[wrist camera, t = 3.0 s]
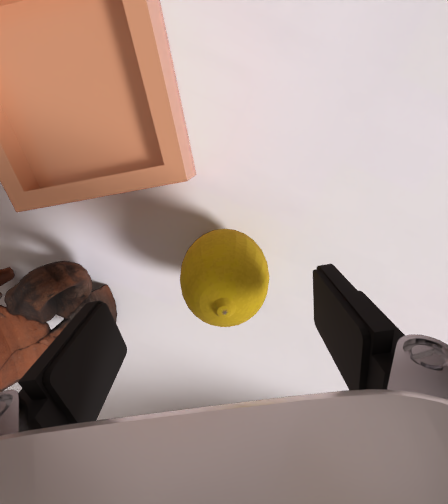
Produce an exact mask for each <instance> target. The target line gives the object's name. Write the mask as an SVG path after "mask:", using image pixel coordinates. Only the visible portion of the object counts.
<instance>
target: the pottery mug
mask: <svg viewBox="0 0 448 504" xmlns="http://www.w3.org/2000/svg"><path fill="white" fill-rule="evenodd" d="M13 277H14V273H13V270H12V269H11V268H10V267H9V268H6V269H0V286H1V285H3V284H5V283H6V282H8V281H10V280H12V279H13ZM91 290H92V280H91V277H90V276H89V274H88V272H87V270H86V269H84V268H83V267H82V266H81V265H80V264H77V263H72V262H67V261H61V262H54V263H50V264H47V265H44V266H41V267H39V268H37V269H35V270H33V271H31V272H29V273H28V274H27V275H25V276H24V277H23V278H22V279H21V280H20V281H19V283H18V284H16V285H15V286H14V287H13V288H11V289H10V290H8V291H7V293H6V295H5V303H6V305H7V307H4V306H2V305H0V392H3V391H4V390H5V389H6V388H8V387H9V386H11V385H13V384H15V383H16V382H18V381H19V380H20V379H21V378H22V377H23V376H24V374H25V373H26V372H27V371H28V370H29V369H30V367H31V366H32V365H33V364H34V363H35V362H36V361H37V359H38V358H39V357H40V356H41V355H42V354H43V352H44V351H45V350H46V349H47V348H48V347H49V345H50V344H51V343H52V342H53V341H54V340H55V338H56V337H57V336H58V335H59V334H60V333H61V332H62V330H63V329H64V328H65V327H66V326H67V325H68V323H69V322H70V321H71V320H72V319H73V318H74V316H75V315H76V314H77V313H78V312H79V311H80V310H81V308H82V307H83V306H84V305H85V304H86V303H88V302H93V301H99V300H100V301H102V302H103V303H106V304H107V305H108V307H109V310H110V312H111V314H112V316H113V318H114V320H115V323H116V317H117V311H116V304H115V300H114V298H113V295H112V292H111V291H110V288H109V287H108V285H104V286H103V287H101V288H100V289H97V290H95V291H93V292H91ZM1 297H2V293H0V299H1ZM55 314H56V315H59V316H61V317H63V318H64V320H63V321H61V322H60V323H59V324H58V325H57V326H56V327H55V328H53V329H52V330H51V329H50V327H49V324H48V323H47V322H46V321H49V320H51V319H52V318H53V317H54V316H55Z"/></svg>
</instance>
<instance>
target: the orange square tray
mask: <svg viewBox="0 0 448 504" xmlns="http://www.w3.org/2000/svg"><path fill="white" fill-rule="evenodd" d="M195 175H196V171H195V166H194V161H193V156H192V152H191V147H190V142H189V137H188V133H187V128H186V123H185V118H184V114H183V109H182V104H181V99H180V95H179V90H178V85H177V80H176V76H175V71H174V66H173V61H172V57H171V52H170V47H169V42H168V37H167V33H166V28H165V23H164V18H163V14H162V9H161V4H160V0H0V182H1V183H2V185H3V187H4V189H5V191H6V193H7V195H8V197H9V199H10V201H11V203H12V205H13V207H14V208H15V210H16V212H22V211H27V210H32V209H38V208H43V207H49V206H54V205H60V204H65V203H70V202H76V201H81V200H87V199H92V198H98V197H103V196H109V195H114V194H119V193H125V192H130V191H136V190H141V189H147V188H152V187H158V186H163V185H168V184H174V183H179V182H185V181H188V180H189V179H191V178H192V177H194V176H195Z"/></svg>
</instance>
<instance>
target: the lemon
mask: <svg viewBox="0 0 448 504" xmlns="http://www.w3.org/2000/svg"><path fill="white" fill-rule="evenodd" d="M180 283H181V289H182V295H183V298H184V300H185V302H186V304H187V306H188V308H189V309H190V310H191V311H192V312H193V314H194V315H195V316H196V317H198V318H199V319H201V320H202V321H203V322H206V323H208V324H210V325H214V326H220V327H230V326H235V325H239V324H241V323H243V322H246V321H247V320H249V319H250V318H251V317H253V316H254V315H255V314H256V313H257V311H258V310H259V309H260V308H261V306H262V304H263V302H264V300H265V298H266V295H267V291H268V283H269V272H268V265H267V261H266V259H265V257H264V254H263V252H262V250H261V249H260V247H259V246H258V245H257V244H256V243H255V242H254V240H253V239H251V238H250V237H248V236H247V235H245V234H244V233H241V232H239V231H236V230H231V229H219V230H213V231H211V232H208V233H206V234H204V235H202V236H201V237H200V238H198V239H197V240H196V241H195V242H194V243H193V244H192V246H191V247H190V248H189V249H188V251H187V253H186V255H185V257H184V260H183V262H182V266H181V275H180Z"/></svg>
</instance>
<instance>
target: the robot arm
mask: <svg viewBox="0 0 448 504" xmlns="http://www.w3.org/2000/svg"><path fill="white" fill-rule="evenodd" d="M313 295H314V322H315V325H316V328H317V330H318V331H319V333H320V335H321V337H322V339H323V341H324V343H325V345H326V347H327V348H328V350H329V352H330V354H331V356H332V358H333V360H334V362H335V364H336V365H337V367H338V369H339V371H340V373H341V375H342V377H343V379H344V381H345V382H346V384H347V386H348V388H349V391H337V392H327V393H317V394H308V395H298V396H289V397H281V398H273V399H264V400H256V401H248V402H240V403H231V404H223V405H215V406H207V407H199V408H191V409H183V410H175V411H167V412H160V413H152V414H144V415H136V416H129V417H121V418H114V419H106V420H99V421H96V420H97V417H98V415H99V413H100V411H101V409H102V406H103V404H104V402H105V400H106V398H107V395H108V393H109V391H110V389H111V387H112V385H113V382H114V380H115V378H116V376H117V374H118V371H119V369H120V367H121V365H122V363H123V360H124V358H125V356H126V353H127V347H126V344H125V342H124V340H123V338H122V336H121V333H120V331H119V329H118V327H117V325H116V323H115V320H114V318H113V316H112V314H111V312H110V310H109V307H108V305H107V304H106V303H103V302H102V301H100V300H99V301H93V302H88V303H86V304H85V305H84V306H83V307H82V308H81V310H80V311H79V312H78V313H77V314H76V315H75V316H74V318H73V319H72V320H71V321H70V322H69V323H68V325H67V326H66V327H65V328H64V329H63V330H62V332H61V333H60V334H59V335H58V336H57V337H56V338H55V340H54V341H53V342H52V343H51V344H50V345H49V347H48V348H47V349H46V350H45V351H44V352H43V354H42V355H41V356H40V357H39V358H38V359H37V361H36V362H35V363H34V364H33V365H32V366H31V367H30V369H29V370H28V371H27V372H26V373H25V374H24V376H23V377H22V378H21V379H20V380H19V381H18V383H19V384H20V386H21V387H22V389H21V391H20V392H19V393H18V392H17V391H15V390H7V391H3V392H0V504H448V345H447V344H445V343H444V342H442V341H440V340H437V339H435V338H432V337H429V336H424V335H412V334H411V335H406V336H405V335H404V334H403V333H402V332H401V331H400V330H399V329H398V328H397V327H396V326H395V325H394V324H393V323H392V322H391V321H390V320H389V319H388V318H387V316H386V315H385V314H384V313H383V312H382V311H381V310H380V309H379V308H378V307H377V306H376V305H375V304H374V303H373V302H372V301H371V300H370V299H369V298H368V297H367V296H366V295H365V294H364V293H363V292H361V291H357V289H356V288H355V287H354V286H353V285H352V284H351V283H350V282H349V281H348V280H347V279H346V278H345V277H344V276H343V275H342V274H341V273H340V272H339V271H338V270H337V268H336V267H335V266H334V265H333V264H327V265H321V266H318V267H317V270H313Z"/></svg>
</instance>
